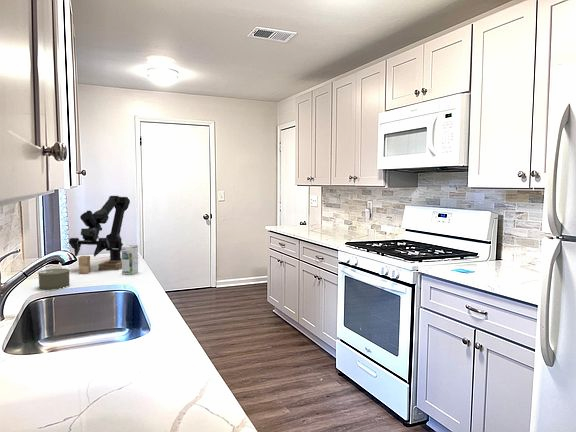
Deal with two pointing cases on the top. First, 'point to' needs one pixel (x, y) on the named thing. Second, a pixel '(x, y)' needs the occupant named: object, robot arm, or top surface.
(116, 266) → the walnut collar stand
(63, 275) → the can
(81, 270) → the tan wooden block
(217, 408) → the top surface
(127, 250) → the syrup box
